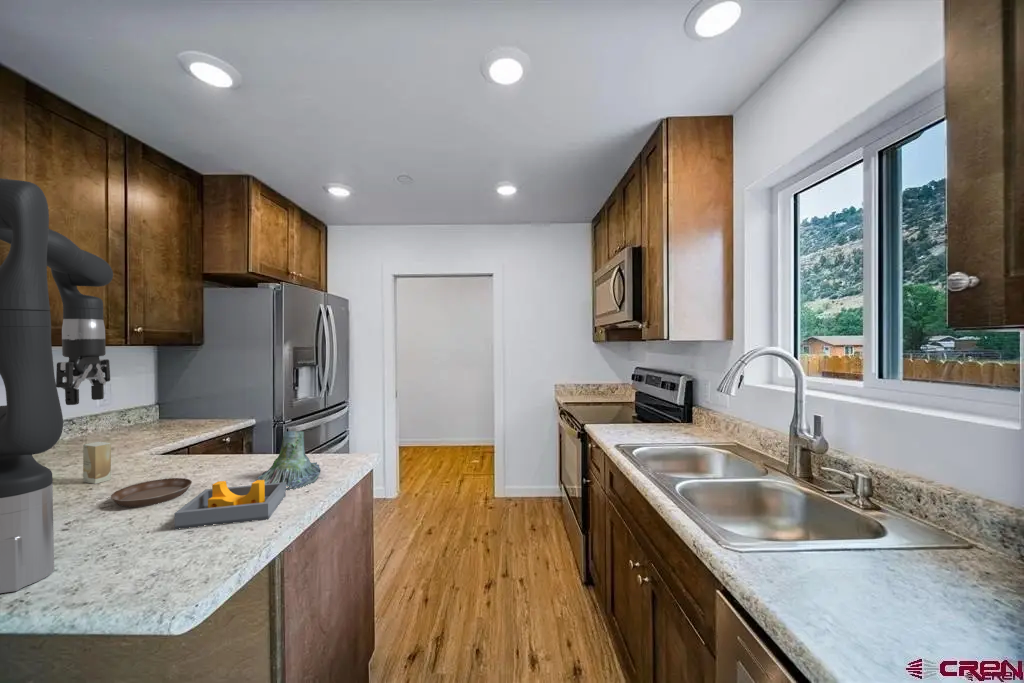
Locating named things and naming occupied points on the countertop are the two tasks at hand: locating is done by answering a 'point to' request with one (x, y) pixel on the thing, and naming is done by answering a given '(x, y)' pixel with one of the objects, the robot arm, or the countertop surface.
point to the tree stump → (292, 464)
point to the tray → (229, 508)
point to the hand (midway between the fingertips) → (85, 402)
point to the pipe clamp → (227, 498)
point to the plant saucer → (151, 492)
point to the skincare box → (96, 462)
